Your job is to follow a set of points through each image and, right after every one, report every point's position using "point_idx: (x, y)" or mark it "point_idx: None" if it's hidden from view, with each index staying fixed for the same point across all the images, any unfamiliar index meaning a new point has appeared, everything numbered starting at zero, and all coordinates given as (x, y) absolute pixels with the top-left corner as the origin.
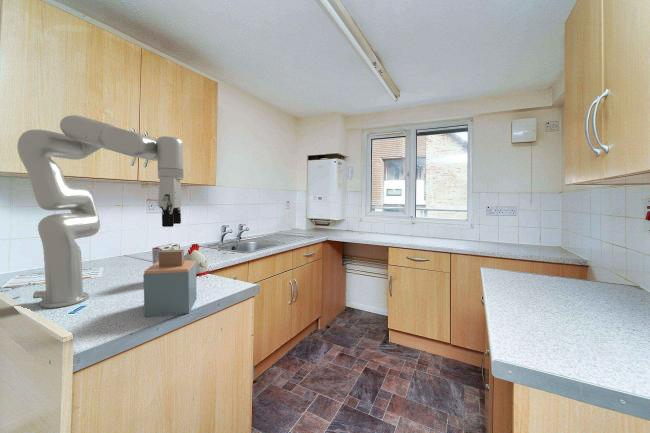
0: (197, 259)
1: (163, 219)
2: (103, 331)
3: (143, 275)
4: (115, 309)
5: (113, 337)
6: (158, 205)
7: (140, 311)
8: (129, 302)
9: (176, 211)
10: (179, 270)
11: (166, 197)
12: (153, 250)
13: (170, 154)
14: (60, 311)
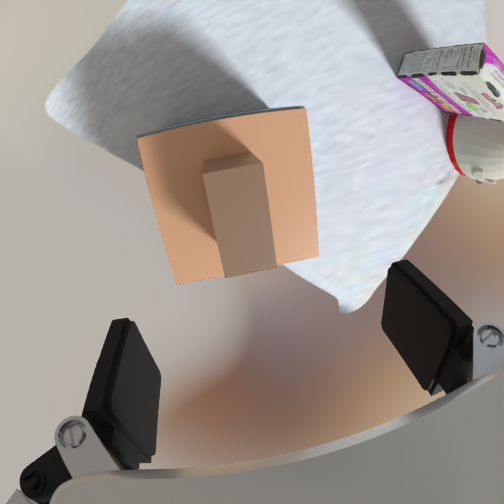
0: (489, 163)
1: (102, 375)
2: (97, 87)
3: (138, 135)
4: (219, 29)
5: (74, 128)
6: (53, 499)
7: (200, 96)
8: (268, 37)
9: (449, 382)
10: (169, 257)
11: None
12: (476, 47)
13: None
14: None
